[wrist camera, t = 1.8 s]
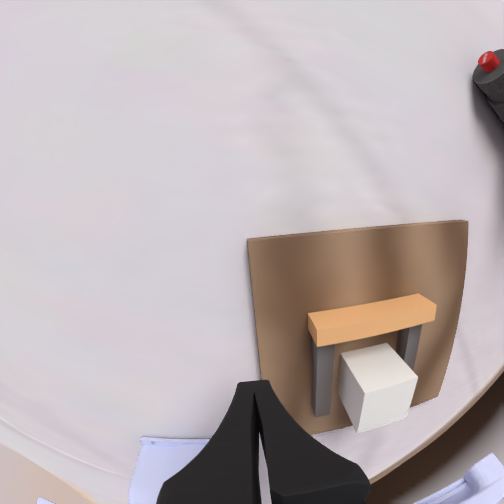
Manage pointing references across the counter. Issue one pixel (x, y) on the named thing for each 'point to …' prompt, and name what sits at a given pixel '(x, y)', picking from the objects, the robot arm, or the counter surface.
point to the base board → (351, 294)
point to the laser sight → (492, 79)
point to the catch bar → (369, 319)
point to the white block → (375, 386)
